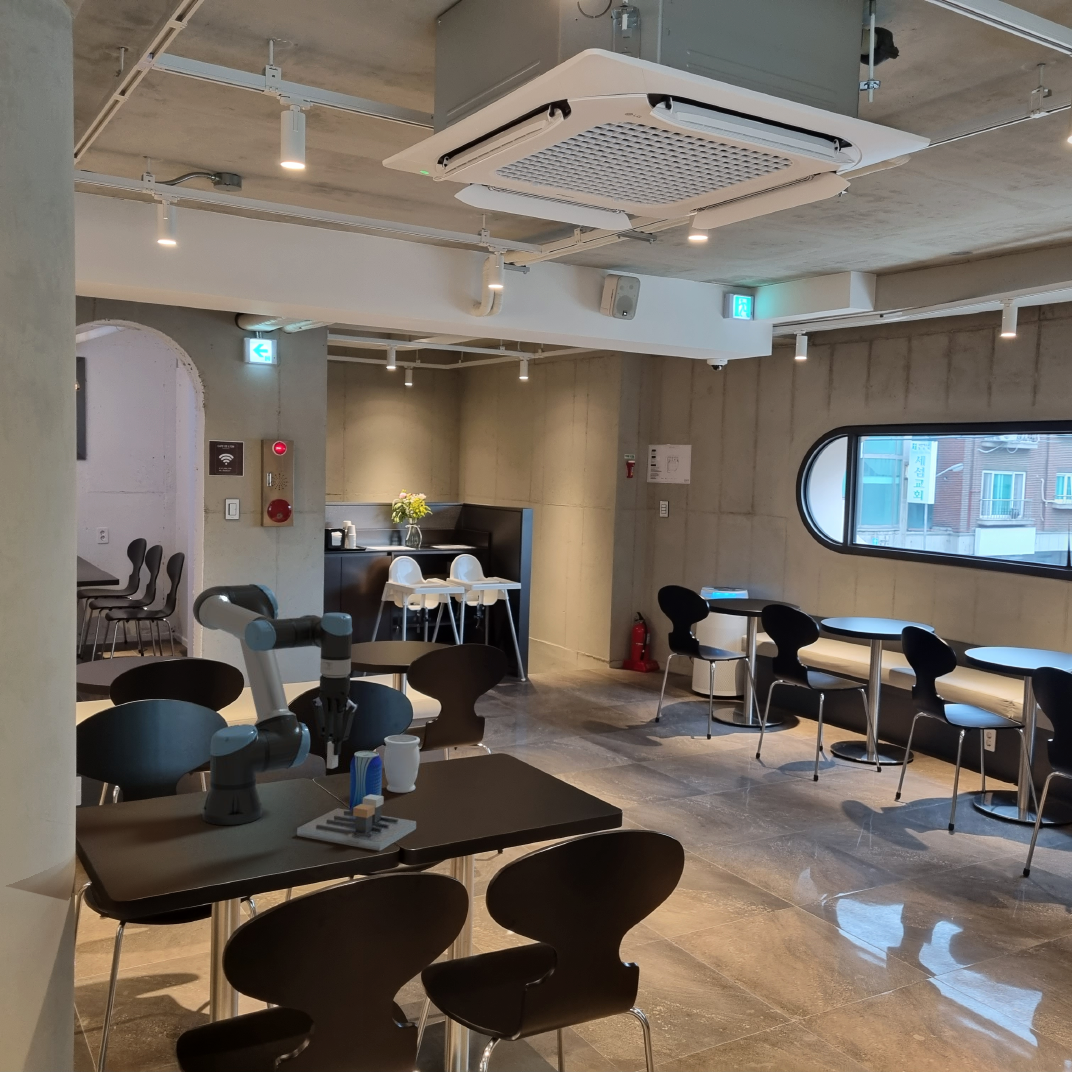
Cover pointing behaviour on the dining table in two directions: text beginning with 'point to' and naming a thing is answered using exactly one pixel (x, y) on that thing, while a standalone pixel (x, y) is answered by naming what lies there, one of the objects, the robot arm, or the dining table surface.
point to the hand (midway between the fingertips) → (332, 766)
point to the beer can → (364, 776)
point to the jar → (401, 762)
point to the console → (342, 831)
